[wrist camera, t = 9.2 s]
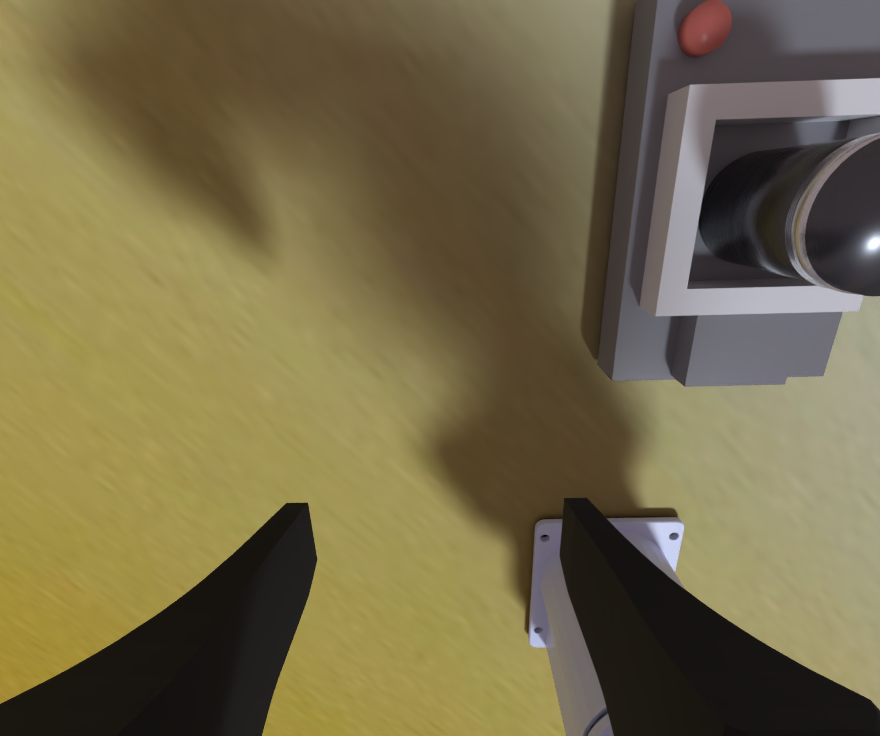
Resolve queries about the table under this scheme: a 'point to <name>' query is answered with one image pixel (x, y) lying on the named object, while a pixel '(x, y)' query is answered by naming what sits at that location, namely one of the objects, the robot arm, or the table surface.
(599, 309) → the table surface
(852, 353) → the table surface
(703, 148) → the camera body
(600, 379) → the table surface
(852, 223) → the lens
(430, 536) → the table surface
